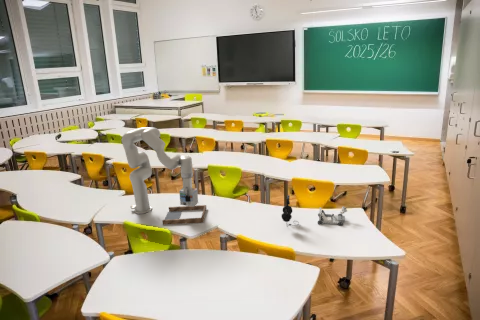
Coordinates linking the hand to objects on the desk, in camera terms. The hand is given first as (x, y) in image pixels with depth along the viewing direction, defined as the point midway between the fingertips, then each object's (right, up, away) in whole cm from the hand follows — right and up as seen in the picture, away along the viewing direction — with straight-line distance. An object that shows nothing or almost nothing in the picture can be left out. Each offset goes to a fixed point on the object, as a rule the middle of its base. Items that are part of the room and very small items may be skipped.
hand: (189, 198), depth 230 cm
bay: (-3, -13, +4) cm, 14 cm away
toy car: (+94, -13, -15) cm, 96 cm away
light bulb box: (0, -4, +1) cm, 4 cm away
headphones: (+67, -15, -19) cm, 71 cm away
